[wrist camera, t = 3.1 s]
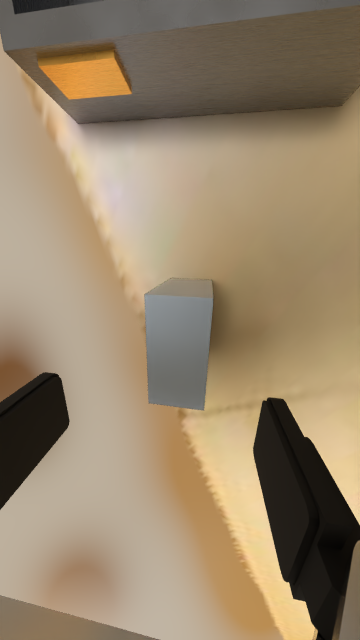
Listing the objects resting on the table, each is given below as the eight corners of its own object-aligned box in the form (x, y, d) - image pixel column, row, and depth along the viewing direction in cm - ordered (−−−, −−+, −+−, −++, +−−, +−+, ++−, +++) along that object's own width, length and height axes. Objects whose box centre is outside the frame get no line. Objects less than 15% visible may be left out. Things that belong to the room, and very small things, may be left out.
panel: (212, 279, 18) (213, 298, 11) (206, 354, 21) (204, 410, 13) (170, 278, 19) (144, 294, 11) (170, 350, 21) (148, 403, 14)
